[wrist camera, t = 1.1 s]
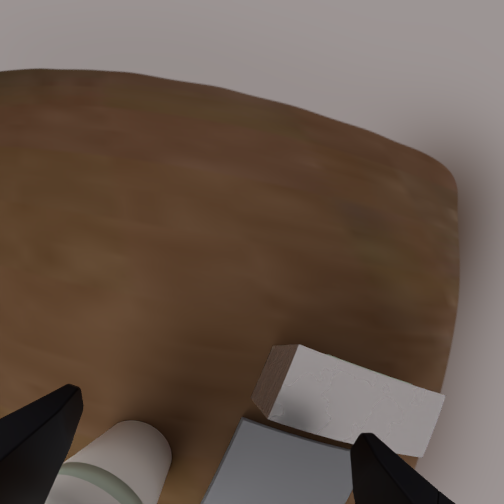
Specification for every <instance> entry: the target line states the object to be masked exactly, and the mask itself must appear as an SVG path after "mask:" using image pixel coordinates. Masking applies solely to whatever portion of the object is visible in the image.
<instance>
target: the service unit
mask: <svg viewBox="0 0 504 504" xmlns="http://www.w3.org/2000/svg"><path fill="white" fill-rule="evenodd" d="M251 399H252V400H253V402H254V403H255V404H256V405H257V407H258V408H259V409H260V410H261V412H262V413H263V414H264V415H265V417H266V418H267V419H268V420H271V421H274V422H277V423H280V424H283V425H286V426H290V427H293V428H296V429H299V430H303V431H306V432H309V433H313V434H316V435H320V436H323V437H327V438H331V439H334V440H338V441H342V442H346V443H350V444H354V443H355V441H356V439H357V438H358V436H359V435H360V434H361V433H373V434H375V435H376V436H377V437H378V438H379V439H380V440H381V441H382V442H384V443H385V444H386V445H387V446H388V447H389V448H390V449H391V450H393V451H394V452H395V453H397V454H403V455H409V456H415V457H421V458H422V457H423V455H424V453H425V451H426V448H427V446H428V443H429V441H430V438H431V436H432V433H433V430H434V428H435V425H436V422H437V420H438V417H439V414H440V411H441V409H442V405H443V403H444V400H445V395H442V394H439V393H436V392H433V391H429V390H426V389H423V388H420V387H417V386H414V385H412V384H410V383H407V382H404V381H401V380H398V379H395V378H392V377H389V376H387V375H384V374H381V373H378V372H375V371H372V370H369V369H367V368H364V367H361V366H358V365H355V364H353V363H350V362H347V361H344V360H342V359H339V358H336V357H334V356H331V355H328V354H323V353H320V352H318V351H315V350H313V349H310V348H307V347H305V346H302V345H300V344H295V345H276V346H272V349H271V351H270V354H269V356H268V358H267V361H266V363H265V366H264V368H263V370H262V373H261V375H260V377H259V380H258V382H257V384H256V387H255V389H254V391H253V393H252V396H251Z"/></svg>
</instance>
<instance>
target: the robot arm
mask: <svg viewBox="0 0 504 504" xmlns="http://www.w3.org/2000/svg"><path fill="white" fill-rule="evenodd" d="M82 412H83V400H82V393H81V389H80V388H79V387H77V386H75V385H72V384H67V385H65V386H63V387H61V388H59V389H57V390H55V391H53V392H51V393H49V394H48V395H46V396H44V397H42V398H40V399H38V400H36V401H34V402H32V403H30V404H28V405H26V406H24V407H23V408H21V409H19V410H17V411H15V412H13V413H11V414H9V415H7V416H5V417H3V418H1V419H0V504H45V502H46V499H47V497H48V495H49V493H50V490H51V488H52V486H53V484H54V481H55V479H56V477H57V475H58V473H59V470H60V468H61V466H62V464H63V462H64V460H65V458H66V456H67V454H68V451H69V449H70V446H71V444H72V441H73V438H74V435H75V432H76V429H77V426H78V423H79V420H80V417H81V415H82ZM350 459H351V472H352V486H353V494H354V499H355V504H455V503H454V502H452V501H451V500H450V499H448V498H447V497H446V496H445V495H444V494H442V493H441V492H439V491H438V490H437V489H436V488H435V487H434V486H433V485H432V484H430V483H429V482H428V481H427V480H426V479H425V478H423V477H422V476H421V475H420V474H419V473H417V472H416V471H415V470H414V469H413V468H412V467H411V466H410V465H408V464H407V463H406V462H405V461H404V460H403V459H402V458H400V457H399V456H398V455H397V454H396V453H395V452H394V451H393V450H391V449H390V448H389V447H388V446H387V445H386V444H385V443H384V442H382V441H381V440H380V439H379V438H378V437H377V436H376V435H375V434H373V433H361V434H360V435H359V436H358V438H357V439H356V441H355V443H354V444H353V446H352V448H351V450H350Z"/></svg>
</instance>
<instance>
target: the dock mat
mask: <svg viewBox="0 0 504 504" xmlns="http://www.w3.org/2000/svg"><path fill="white" fill-rule="evenodd" d="M352 489H353V486H352V472H351V459H350V449H346V448H342V447H338V446H334V445H330V444H326V443H322V442H319V441H315V440H312V439H308V438H305V437H301V436H298V435H294V434H291V433H288V432H285V431H282V430H279V429H275V428H272V427H269V426H267V425H264V424H261V423H258V422H255V421H252V420H249V419H247V418H244V417H242V418H241V420H240V422H239V424H238V426H237V429H236V431H235V433H234V435H233V437H232V439H231V442H230V444H229V446H228V448H227V450H226V452H225V454H224V457H223V459H222V461H221V463H220V465H219V467H218V469H217V471H216V473H215V475H214V477H213V479H212V481H211V483H210V485H209V487H208V490H207V492H206V494H205V496H204V498H203V500H202V501H201V503H200V504H345V502H346V500H347V499H348V497H349V495H350V493H351V491H352Z"/></svg>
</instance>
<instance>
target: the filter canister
mask: <svg viewBox="0 0 504 504" xmlns="http://www.w3.org/2000/svg"><path fill="white" fill-rule="evenodd" d="M171 461H172V453H171V449H170V446H169V443H168V442H167V440H166V438H165V437H164V436H163V435H162V434H161V433H160V432H159V431H158V430H157V429H156V428H154V427H153V426H151V425H149V424H147V423H144V422H141V421H135V420H128V421H122V422H120V423H117V424H116V425H114V426H113V427H112V428H110V429H109V430H108V431H106V432H105V433H104V434H102V435H101V436H100V437H98V438H97V439H95V440H94V441H93V442H91V443H90V444H89V445H87V446H86V447H85V448H83V449H82V450H80V451H79V452H78V453H76V454H75V455H74V456H72V457H71V458H69V459H68V460H67V461H65V462H64V463H63V464H62V466H61V468H60V470H59V473H58V475H57V477H56V479H55V481H54V484H53V486H52V488H51V490H50V493H49V495H48V497H47V499H46V502H45V504H157V502H158V499H159V496H160V493H161V490H162V487H163V485H164V482H165V479H166V476H167V473H168V470H169V468H170V465H171Z"/></svg>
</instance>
